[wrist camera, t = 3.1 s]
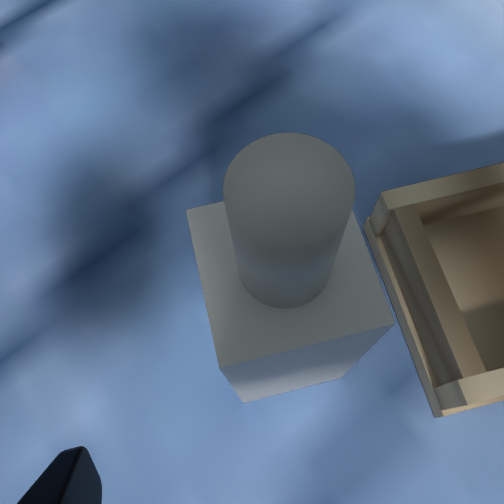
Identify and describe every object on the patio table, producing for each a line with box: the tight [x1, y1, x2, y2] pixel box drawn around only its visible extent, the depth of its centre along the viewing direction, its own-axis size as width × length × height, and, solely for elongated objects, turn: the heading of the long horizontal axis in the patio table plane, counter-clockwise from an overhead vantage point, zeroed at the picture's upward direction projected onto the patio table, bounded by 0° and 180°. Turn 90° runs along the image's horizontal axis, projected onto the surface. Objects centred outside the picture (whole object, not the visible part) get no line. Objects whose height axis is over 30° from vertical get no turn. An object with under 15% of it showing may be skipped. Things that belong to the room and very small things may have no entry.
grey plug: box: [186, 132, 395, 403], centre depth 14 cm, size 4×4×12 cm
